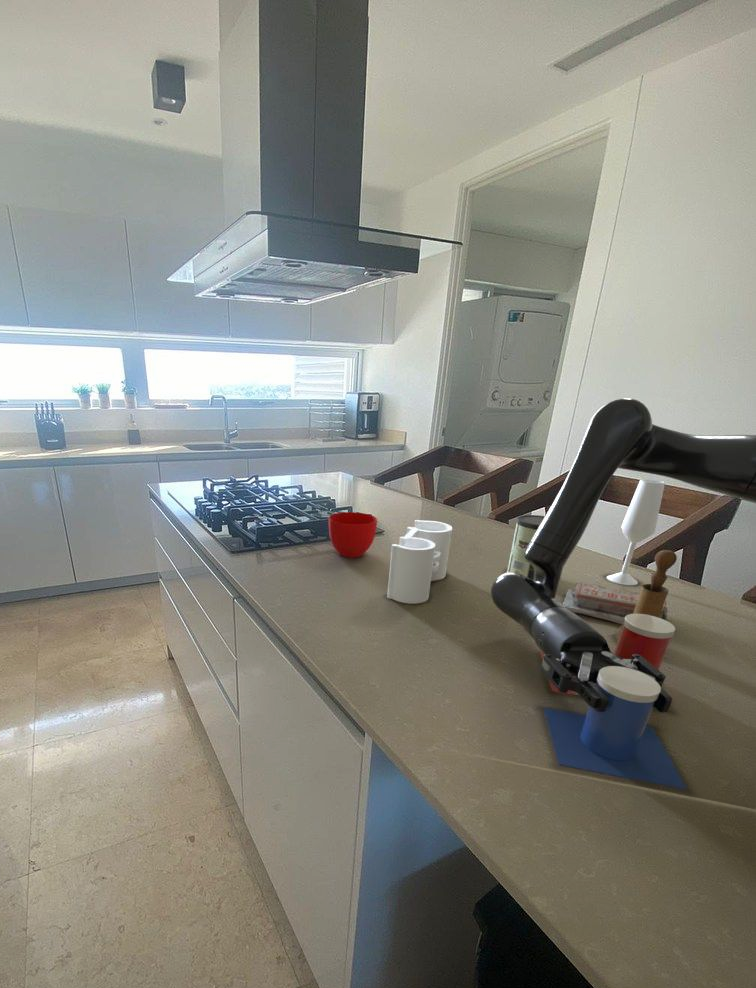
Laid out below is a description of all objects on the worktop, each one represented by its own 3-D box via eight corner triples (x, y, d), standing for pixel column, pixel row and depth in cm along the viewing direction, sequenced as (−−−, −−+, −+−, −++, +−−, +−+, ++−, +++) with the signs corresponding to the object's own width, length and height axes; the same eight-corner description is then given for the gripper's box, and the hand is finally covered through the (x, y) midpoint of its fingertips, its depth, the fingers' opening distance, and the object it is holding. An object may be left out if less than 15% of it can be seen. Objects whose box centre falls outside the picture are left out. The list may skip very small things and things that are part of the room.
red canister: (646, 670, 81) (665, 616, 77) (661, 692, 75) (683, 635, 71) (602, 663, 83) (619, 611, 78) (613, 685, 77) (632, 629, 73)
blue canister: (627, 732, 66) (650, 670, 62) (643, 766, 61) (669, 700, 56) (574, 723, 68) (593, 662, 64) (585, 755, 62) (606, 690, 58)
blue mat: (651, 727, 68) (651, 726, 68) (687, 791, 57) (687, 789, 57) (543, 709, 71) (543, 707, 71) (558, 766, 61) (558, 764, 61)
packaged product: (668, 593, 99) (671, 611, 92) (661, 615, 101) (663, 634, 94) (571, 575, 108) (566, 590, 100) (565, 595, 110) (560, 611, 102)
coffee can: (553, 573, 122) (566, 518, 117) (547, 586, 114) (561, 528, 109) (510, 565, 127) (521, 512, 122) (502, 577, 119) (513, 521, 113)
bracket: (426, 607, 103) (433, 553, 98) (382, 598, 106) (387, 545, 101) (449, 570, 123) (456, 523, 118) (411, 563, 127) (416, 518, 122)
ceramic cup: (384, 546, 140) (387, 512, 136) (366, 564, 126) (368, 527, 122) (341, 540, 145) (343, 507, 141) (320, 557, 131) (321, 520, 126)
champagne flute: (643, 581, 118) (675, 482, 108) (630, 587, 115) (662, 485, 105) (614, 573, 123) (643, 477, 114) (601, 578, 120) (629, 480, 110)
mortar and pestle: (619, 647, 88) (649, 553, 81) (613, 632, 94) (641, 542, 86) (661, 654, 86) (697, 559, 79) (653, 638, 92) (685, 547, 84)
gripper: (525, 617, 72) (585, 680, 57) (620, 618, 73) (704, 680, 58) (515, 661, 75) (570, 731, 60) (606, 661, 76) (683, 731, 61)
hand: (635, 706), depth 59 cm, fingers open, 7 cm apart
